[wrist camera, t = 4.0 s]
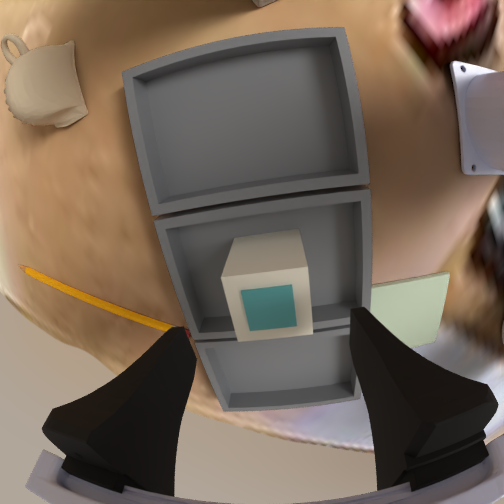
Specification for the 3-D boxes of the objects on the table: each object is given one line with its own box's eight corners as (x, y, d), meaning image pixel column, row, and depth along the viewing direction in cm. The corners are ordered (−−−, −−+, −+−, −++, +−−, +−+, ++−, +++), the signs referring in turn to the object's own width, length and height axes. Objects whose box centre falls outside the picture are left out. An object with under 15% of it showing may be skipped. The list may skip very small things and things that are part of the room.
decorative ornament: (51, 138, 16) (1, 149, 11) (38, 51, 13) (-8, 46, 8) (89, 116, 15) (36, 119, 10) (74, 24, 12) (28, 10, 7)
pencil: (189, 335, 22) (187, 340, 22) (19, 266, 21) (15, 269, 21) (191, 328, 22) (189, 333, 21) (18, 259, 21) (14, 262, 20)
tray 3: (361, 306, 20) (369, 324, 18) (355, 381, 23) (359, 398, 21) (200, 324, 21) (194, 342, 19) (226, 393, 25) (223, 411, 23)
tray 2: (359, 181, 16) (370, 189, 14) (361, 302, 20) (369, 320, 17) (166, 210, 18) (153, 221, 16) (199, 321, 21) (193, 339, 19)
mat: (447, 271, 18) (449, 273, 18) (433, 339, 21) (434, 341, 20) (367, 285, 19) (369, 288, 19) (362, 354, 22) (363, 358, 21)
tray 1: (335, 38, 12) (344, 27, 10) (358, 176, 16) (370, 183, 14) (138, 77, 14) (121, 72, 12) (165, 205, 18) (152, 216, 16)
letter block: (298, 229, 17) (308, 268, 12) (305, 285, 19) (313, 335, 14) (232, 238, 18) (217, 279, 13) (243, 292, 19) (235, 343, 15)
